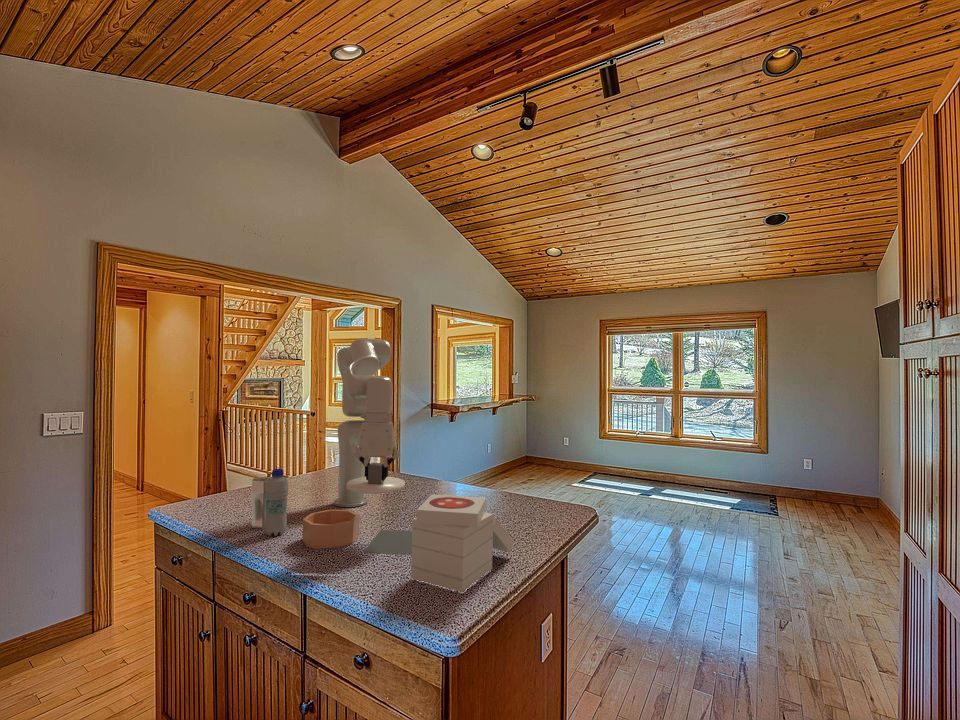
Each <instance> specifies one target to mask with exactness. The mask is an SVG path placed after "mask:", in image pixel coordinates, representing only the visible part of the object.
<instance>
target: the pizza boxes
mask: <svg viewBox="0 0 960 720" xmlns="http://www.w3.org/2000/svg"><path fill="white" fill-rule="evenodd" d="M486 511H487V497H483V496H481V497H480V496H466V495H465V496H463V495H449V494H448V495H446V494H435V493H434V494H433V493H432V494H431V495H430V496H429V497H427V499H426V500H425V501H424V502H423V503H421V505H420V506H419V507H418V508H417V509H416V517H414V518H412V520H411V521H412V522H411V528H412V529H411V531H412V554H411V555H410V557H411V558H410V559H411V561H410V579H411V578H413V579H416V580H420V581H424V582H428V583H431V584H435V585H439V586H442V587H446V588H449V589H452V590H453V589H454V590H456V591H460V592H463V591H464V590H465V589H466V588H468V587H469V586H470V585H471V584H472V583H474V582H475V581H476V580H478V579H479V578H480V577H481V576H483V575H484V574H485V573H486V572H488V571H489V570H490V569H492V570H493V553H494V552H493V551H494V550H497V551H503V552H505V553H506V552H507V553H511V552H512V549H513V545H514V540H513V538H512V537H511V536H510V534H509V533H508V531H507V530H506V529H505V528H504V526H503V525H502V523H500V521H499V519H498V518H497V517H494V513H491V512H490V513H489V512H486ZM479 580H480V579H479Z"/></svg>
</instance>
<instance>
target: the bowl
mask: <svg viewBox="0 0 960 720" xmlns="http://www.w3.org/2000/svg"><path fill="white" fill-rule="evenodd" d="M360 519H361V516H360V514H359V513H357V512H355V511H353V510H351V509H350V510H349V509H326V510H320V511H316V512H311V513H310V514H308V515H306V516H305V517H304V518H303V519H302V537H301V538H302V539H301V540H302V541H303V543H304V546H305V545H306V546H307V547H306V546H305V547H306V548H308V547H309V549H311V548H312V550H316V549H334V548H340V547H341V548H342V547H344V546H347V545H351V544H352V543H355V542H356V541H357V539H358V537H359V536H360V522H361V521H360Z"/></svg>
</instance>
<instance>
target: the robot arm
mask: <svg viewBox="0 0 960 720" xmlns="http://www.w3.org/2000/svg"><path fill="white" fill-rule="evenodd" d="M336 357H337V359H336V360H337V362H336V363H337V366H338V367H337V368H338V371H339V373H340V376H341V381H342V382H341V383H342V387H341V388H342V390H341V391H342V393H341V395H342V397H341V401H342V402H341V404H342V405H341V406H342V408H341V409H342V410H341V411H342V413H343V415H344V416H346V417H350V418H351V417H352V418H354V417H355V418H360V419H361V420H360V419H357V420H344V421H342V422H341V423H340V424H339V425H338V427H337V438H338V439H337V440H338V452H339V453H338V455H339V457H338V463H339V464H338V485H337V486H338V487H337V489H338V490H337V492H338V493H337V498H335V499H334V500H333V505H334V506H335V507H340V508H356V507H361V506H364V505H366V504H367V503H368V498H367V497H366V496H364V494H365V493H357V492H353V491H350V490H348V489H347V482H348V481H350V480H353V479H356V478H362V477H366V480H368V465H370V464H371V459H372V458H382V463H383V464H384V465H383V467H382V481H384V480H385V479H386V477H389V466H390V465H391V464H392V462H394V461H396V460H397V459H399V458H400V457H401V453H400V452H399V450H398V448H397V447H396V442H395V441H396V440H395V429H394V428H395V427H394V422H392V421H391V420H392V391H393V381H392V379H391V378H390V377H388V376H385V375H375V374H376V373H377V372H378V371H380V370H382V369H383V368H385V366H387V364H388V363H389V362H390V360H391V358H392V347H391V344H390V342H388V341H387V340H386V339H383V338H382V339H380V338H362V337H361V338H357V339H355V340H354V341H352V343H351V344H350V346H348V347H343V348H342V347H341V348H340V349H339V350H338V352H337V355H336ZM392 455H393V456H392Z"/></svg>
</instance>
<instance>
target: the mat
mask: <svg viewBox="0 0 960 720" xmlns="http://www.w3.org/2000/svg"><path fill="white" fill-rule="evenodd" d="M363 553H364V554H385V555H386V554H387V555H389V554H390V555H406V556H407V555H409V556H411V554H412V530H400V529H399V530H396V529H395V530H394V529H380V530H379V531H378V533H377V534H376V535H375V537H374V538H373V539H372V540H371V542H369V544H368V546H367V547H366V548H365V549H364V550H363Z"/></svg>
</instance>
